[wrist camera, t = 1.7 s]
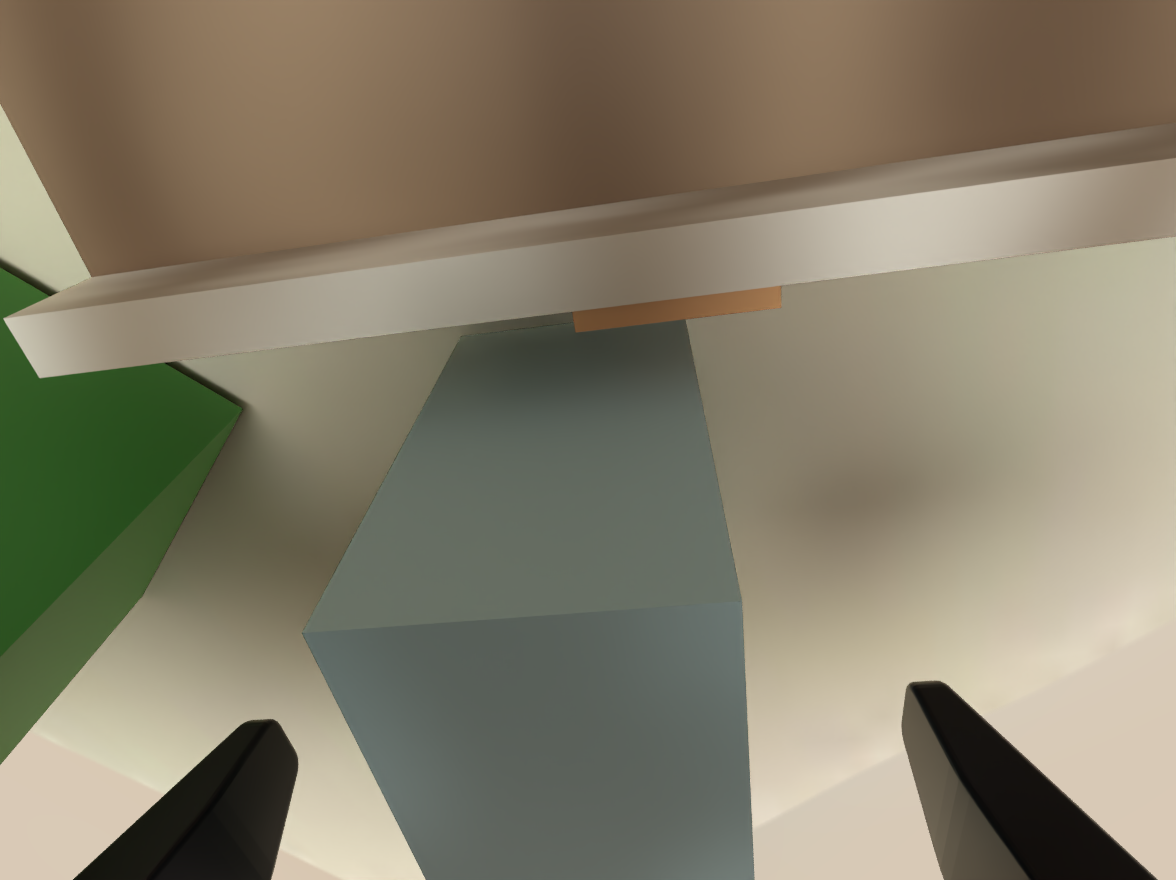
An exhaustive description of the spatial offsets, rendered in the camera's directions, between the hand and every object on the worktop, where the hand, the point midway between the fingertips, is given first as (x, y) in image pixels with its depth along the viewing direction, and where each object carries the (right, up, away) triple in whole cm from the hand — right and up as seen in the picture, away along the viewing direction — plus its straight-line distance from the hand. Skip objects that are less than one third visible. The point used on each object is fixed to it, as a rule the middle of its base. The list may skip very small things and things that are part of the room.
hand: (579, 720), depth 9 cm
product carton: (0, +4, +6) cm, 7 cm away
